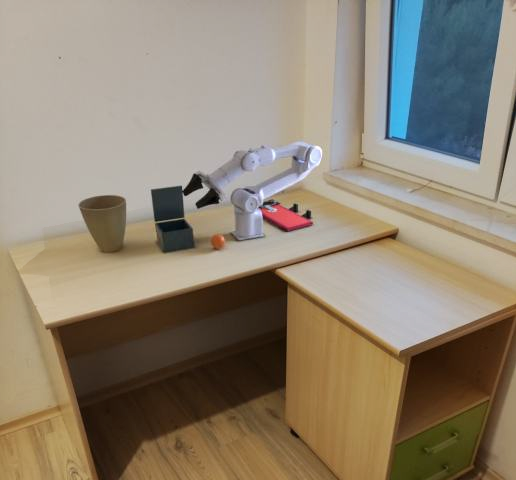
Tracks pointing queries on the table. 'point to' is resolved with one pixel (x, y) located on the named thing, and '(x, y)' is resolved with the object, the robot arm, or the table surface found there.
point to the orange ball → (217, 241)
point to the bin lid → (167, 203)
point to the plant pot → (105, 220)
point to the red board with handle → (285, 215)
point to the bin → (174, 235)
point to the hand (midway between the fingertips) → (190, 200)
